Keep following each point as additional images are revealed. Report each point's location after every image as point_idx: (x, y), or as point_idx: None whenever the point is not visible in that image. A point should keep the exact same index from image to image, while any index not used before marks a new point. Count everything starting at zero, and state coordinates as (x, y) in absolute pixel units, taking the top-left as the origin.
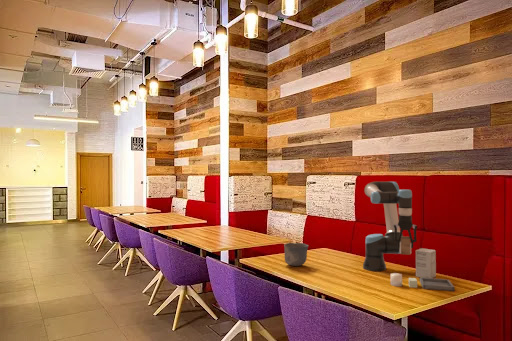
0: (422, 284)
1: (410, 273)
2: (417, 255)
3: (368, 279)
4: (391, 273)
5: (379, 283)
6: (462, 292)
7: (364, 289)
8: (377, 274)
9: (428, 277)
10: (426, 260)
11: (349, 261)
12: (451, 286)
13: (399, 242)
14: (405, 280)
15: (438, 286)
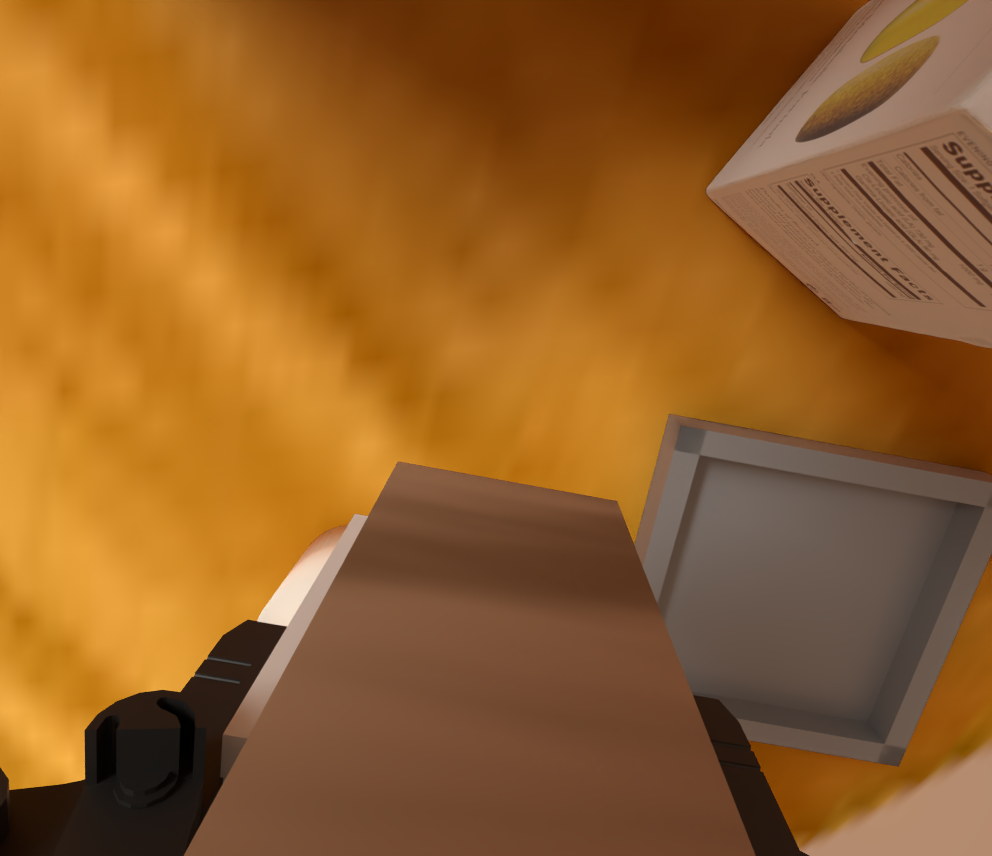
0: None
1: (689, 3)
2: (903, 172)
3: (66, 404)
4: (272, 601)
5: (184, 550)
6: (932, 759)
7: (35, 744)
8: (186, 133)
9: (835, 306)
10: (987, 312)
11: None
12: (882, 743)
13: None
14: (503, 403)
15: (748, 736)
